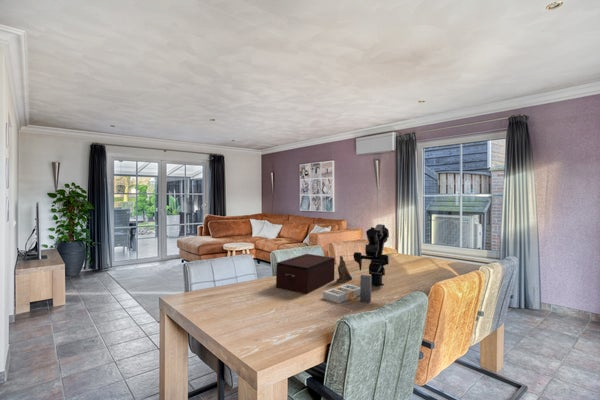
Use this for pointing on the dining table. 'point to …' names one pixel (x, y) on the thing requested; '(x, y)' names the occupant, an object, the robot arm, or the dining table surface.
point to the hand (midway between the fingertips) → (368, 271)
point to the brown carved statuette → (343, 272)
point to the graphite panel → (365, 288)
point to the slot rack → (342, 293)
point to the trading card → (327, 309)
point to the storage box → (305, 273)
